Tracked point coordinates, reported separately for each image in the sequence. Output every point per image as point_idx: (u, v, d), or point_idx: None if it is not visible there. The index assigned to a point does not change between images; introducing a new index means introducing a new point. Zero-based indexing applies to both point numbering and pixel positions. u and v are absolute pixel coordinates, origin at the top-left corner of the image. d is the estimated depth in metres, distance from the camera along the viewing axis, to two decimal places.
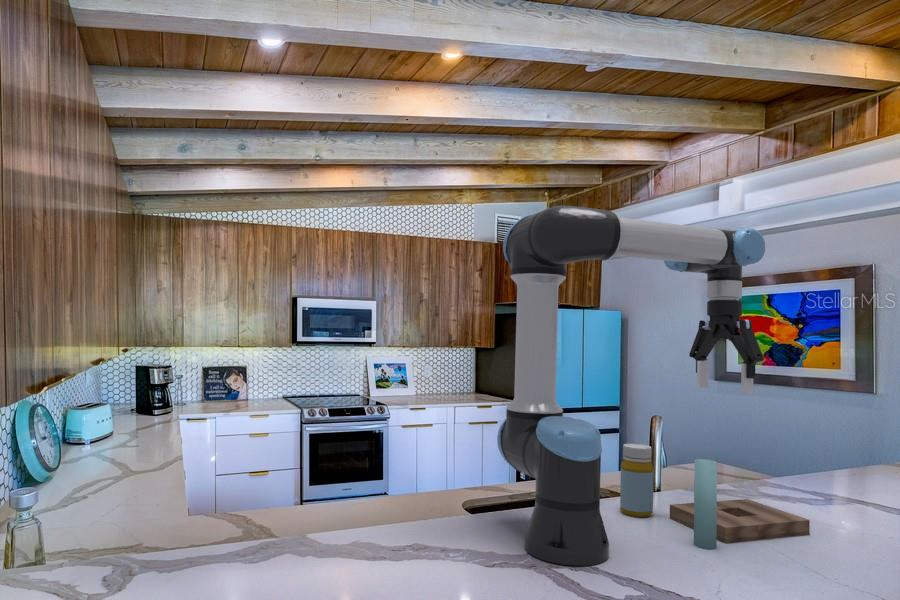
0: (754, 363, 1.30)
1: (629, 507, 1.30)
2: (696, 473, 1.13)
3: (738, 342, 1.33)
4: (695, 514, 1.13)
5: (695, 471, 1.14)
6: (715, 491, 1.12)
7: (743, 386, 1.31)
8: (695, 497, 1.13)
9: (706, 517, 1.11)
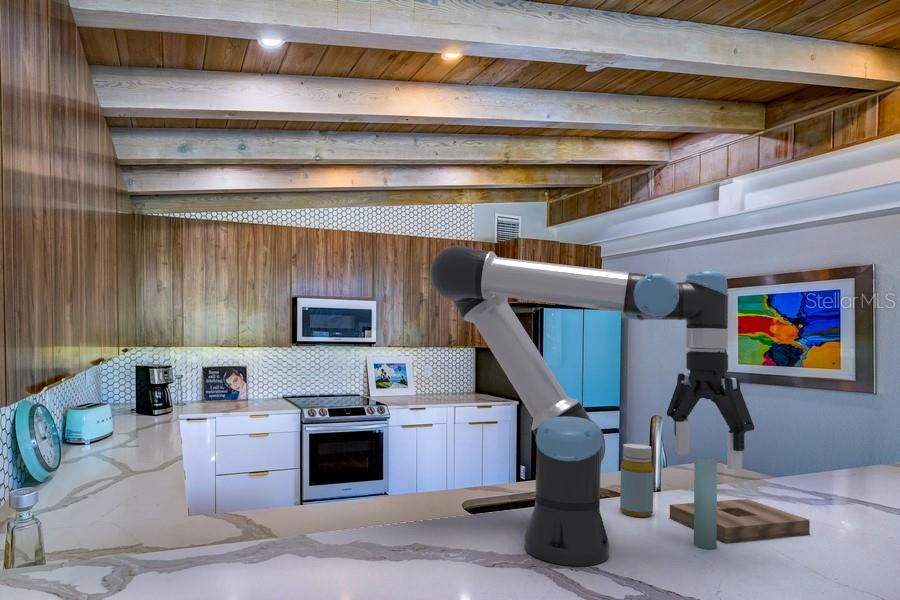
0: (743, 432, 1.06)
1: (629, 507, 1.30)
2: (696, 473, 1.13)
3: (723, 405, 1.09)
4: (695, 514, 1.13)
5: (695, 471, 1.14)
6: (715, 491, 1.12)
7: (729, 460, 1.07)
8: (695, 497, 1.13)
9: (706, 517, 1.11)
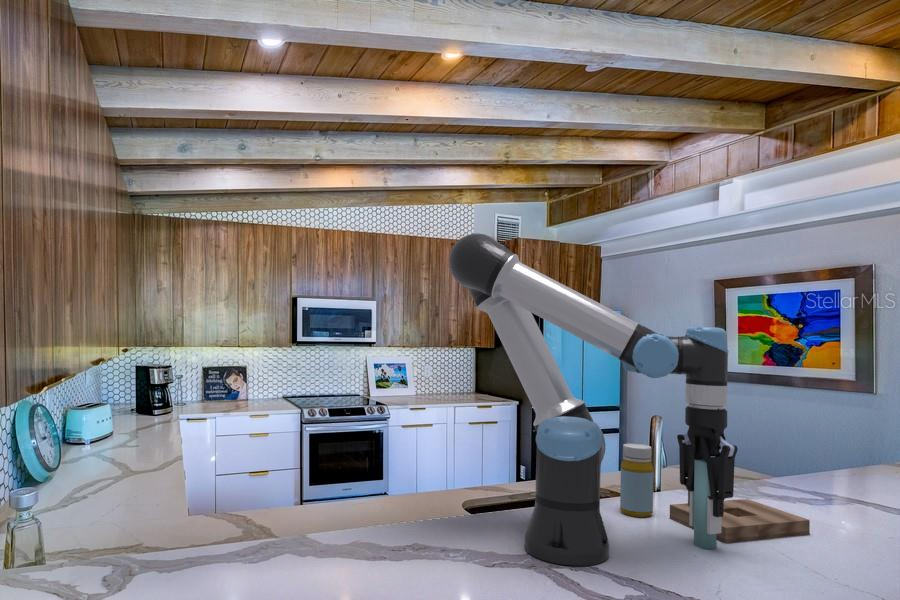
0: (722, 499, 1.10)
1: (629, 507, 1.30)
2: (696, 473, 1.13)
3: (713, 469, 1.11)
4: (695, 514, 1.13)
5: (695, 471, 1.14)
6: None
7: (709, 525, 1.10)
8: (695, 497, 1.13)
9: (706, 517, 1.11)
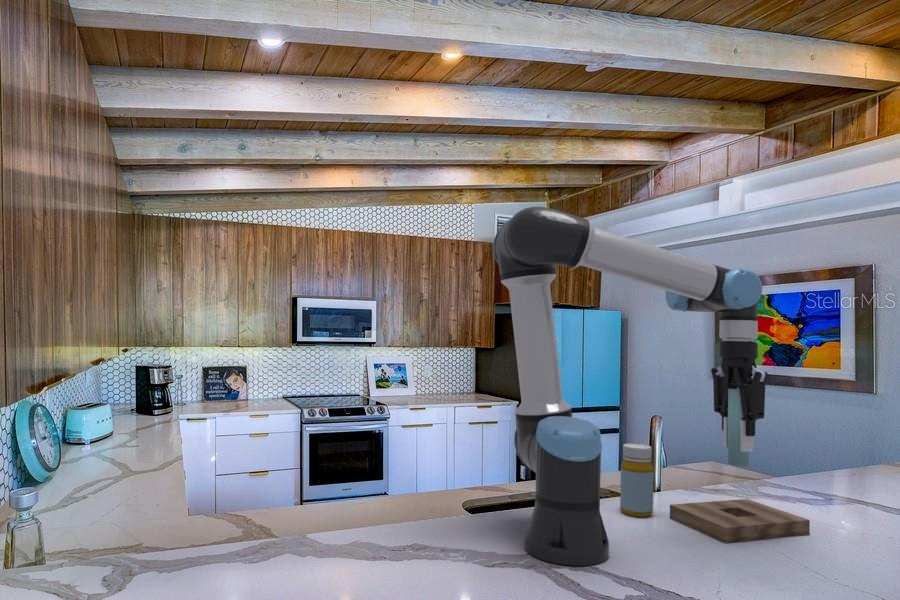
0: (754, 420, 1.23)
1: (629, 507, 1.30)
2: (730, 399, 1.27)
3: (745, 394, 1.24)
4: (729, 436, 1.27)
5: (729, 398, 1.27)
6: None
7: (742, 444, 1.24)
8: (729, 421, 1.27)
9: (739, 438, 1.25)
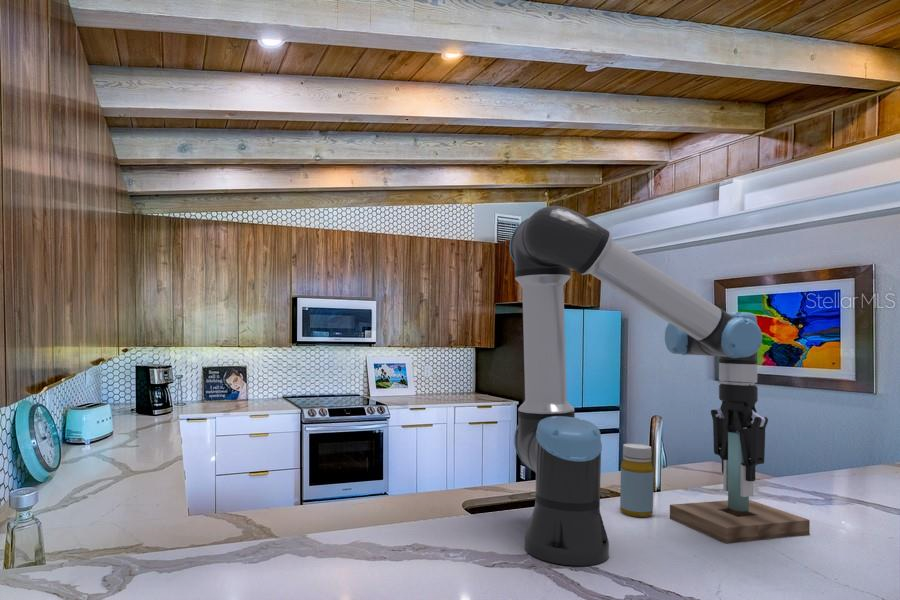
0: (754, 465, 1.23)
1: (629, 507, 1.30)
2: (730, 444, 1.26)
3: (745, 438, 1.24)
4: (729, 480, 1.26)
5: (729, 442, 1.27)
6: None
7: (742, 489, 1.23)
8: (729, 465, 1.26)
9: None
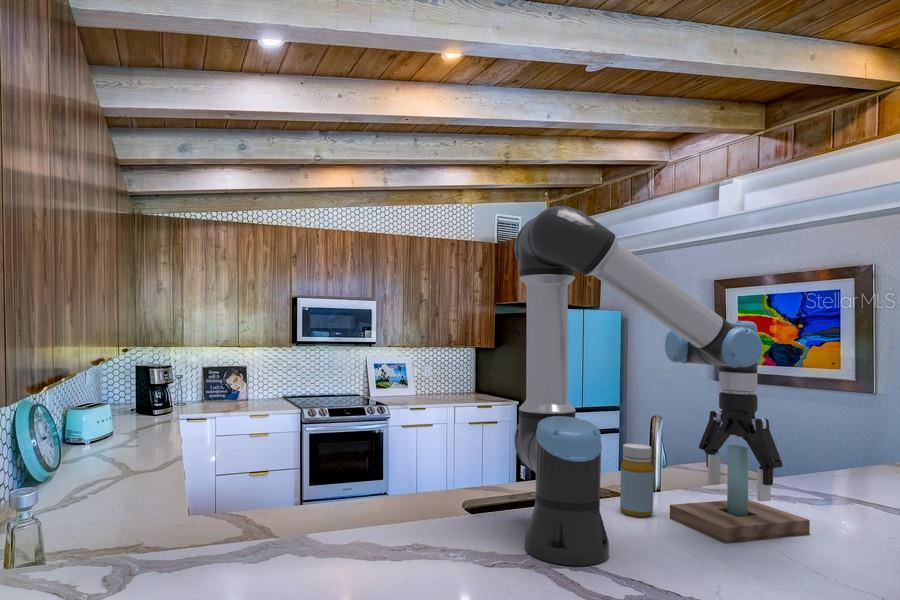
0: (772, 469, 1.18)
1: (629, 507, 1.30)
2: (729, 457, 1.26)
3: (754, 443, 1.22)
4: (728, 494, 1.26)
5: (728, 456, 1.26)
6: (747, 473, 1.25)
7: (759, 493, 1.19)
8: (728, 479, 1.26)
9: (739, 497, 1.24)
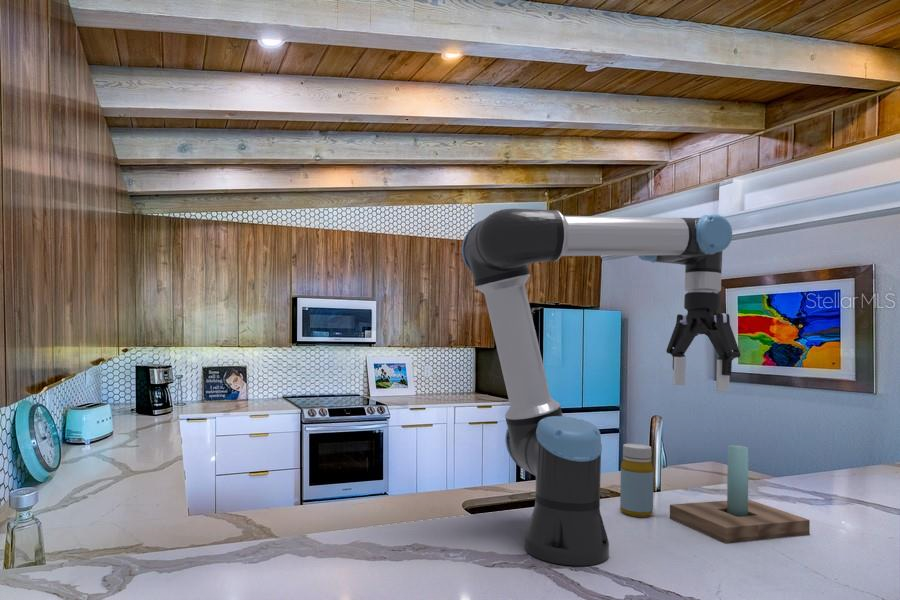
0: (730, 359, 1.23)
1: (629, 507, 1.30)
2: (729, 457, 1.26)
3: (714, 337, 1.26)
4: (728, 494, 1.26)
5: (728, 456, 1.26)
6: (747, 473, 1.25)
7: (718, 383, 1.23)
8: (728, 479, 1.26)
9: (739, 497, 1.24)
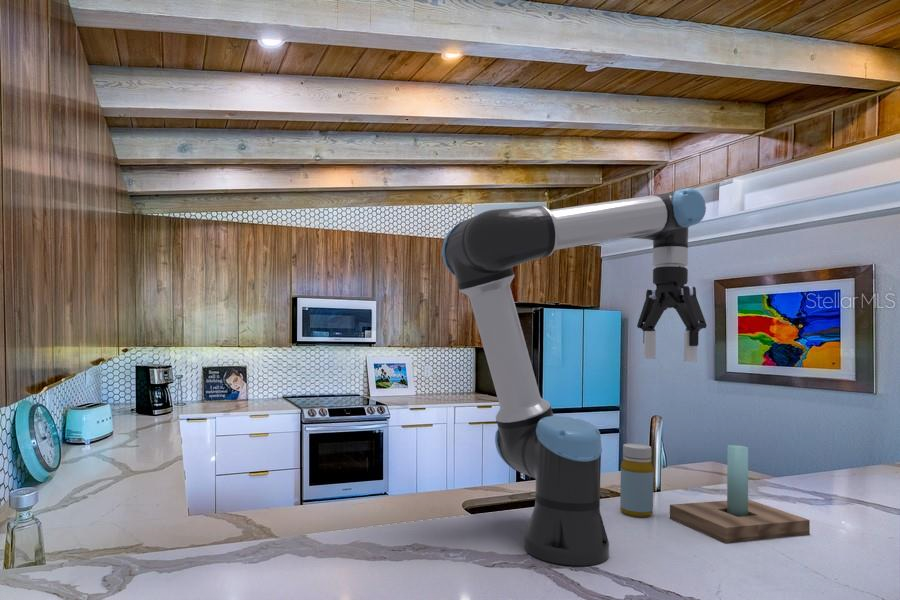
0: (697, 330, 1.26)
1: (629, 507, 1.30)
2: (729, 457, 1.26)
3: (682, 309, 1.30)
4: (728, 494, 1.26)
5: (728, 456, 1.27)
6: (747, 473, 1.25)
7: (686, 354, 1.27)
8: (728, 479, 1.26)
9: (739, 497, 1.24)
